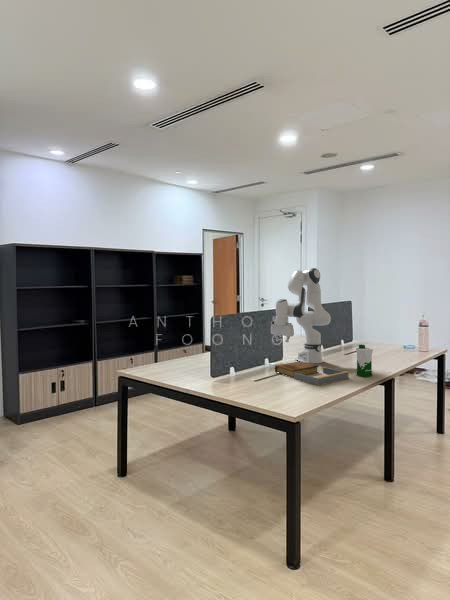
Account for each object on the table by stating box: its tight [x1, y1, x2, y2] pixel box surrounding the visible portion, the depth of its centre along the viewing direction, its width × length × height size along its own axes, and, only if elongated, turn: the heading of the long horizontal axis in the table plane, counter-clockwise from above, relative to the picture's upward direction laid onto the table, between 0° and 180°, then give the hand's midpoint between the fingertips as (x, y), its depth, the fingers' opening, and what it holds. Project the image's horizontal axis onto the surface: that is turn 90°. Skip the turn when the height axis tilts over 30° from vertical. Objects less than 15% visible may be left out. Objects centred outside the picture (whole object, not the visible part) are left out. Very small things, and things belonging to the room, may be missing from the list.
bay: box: [293, 366, 350, 386], centre depth 268 cm, size 20×28×5 cm
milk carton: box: [355, 344, 374, 378], centre depth 274 cm, size 9×9×20 cm
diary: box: [274, 361, 320, 379], centre depth 286 cm, size 23×19×6 cm
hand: (282, 341), depth 297 cm, fingers open, 8 cm apart
